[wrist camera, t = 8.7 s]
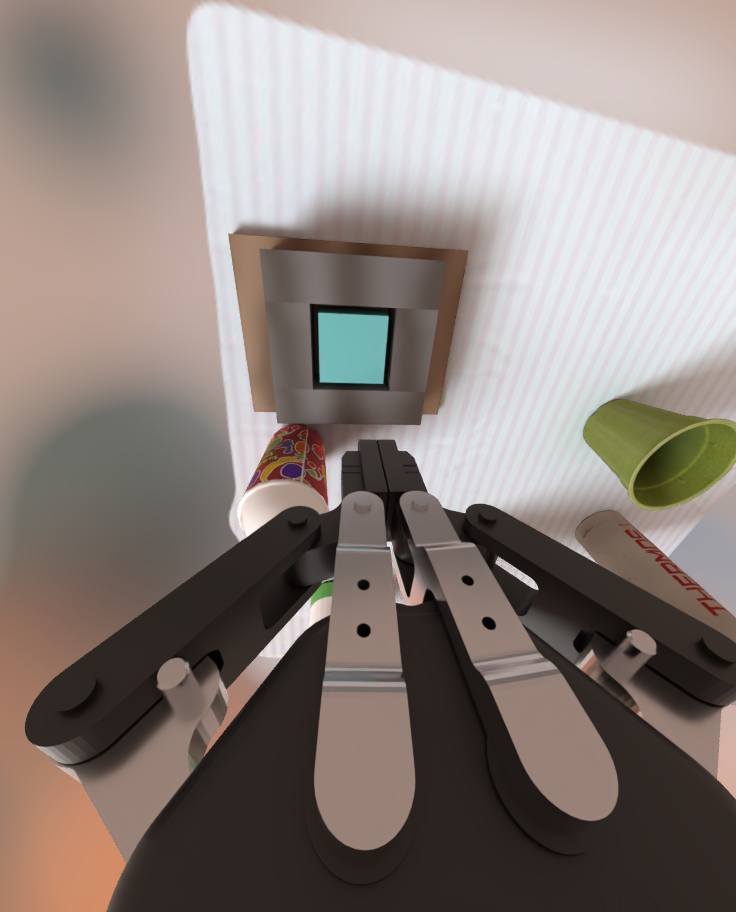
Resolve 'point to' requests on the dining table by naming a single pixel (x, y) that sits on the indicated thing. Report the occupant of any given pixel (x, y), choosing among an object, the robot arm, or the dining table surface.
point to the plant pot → (661, 451)
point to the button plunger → (352, 345)
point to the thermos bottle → (650, 569)
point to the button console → (345, 286)
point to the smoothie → (286, 478)
